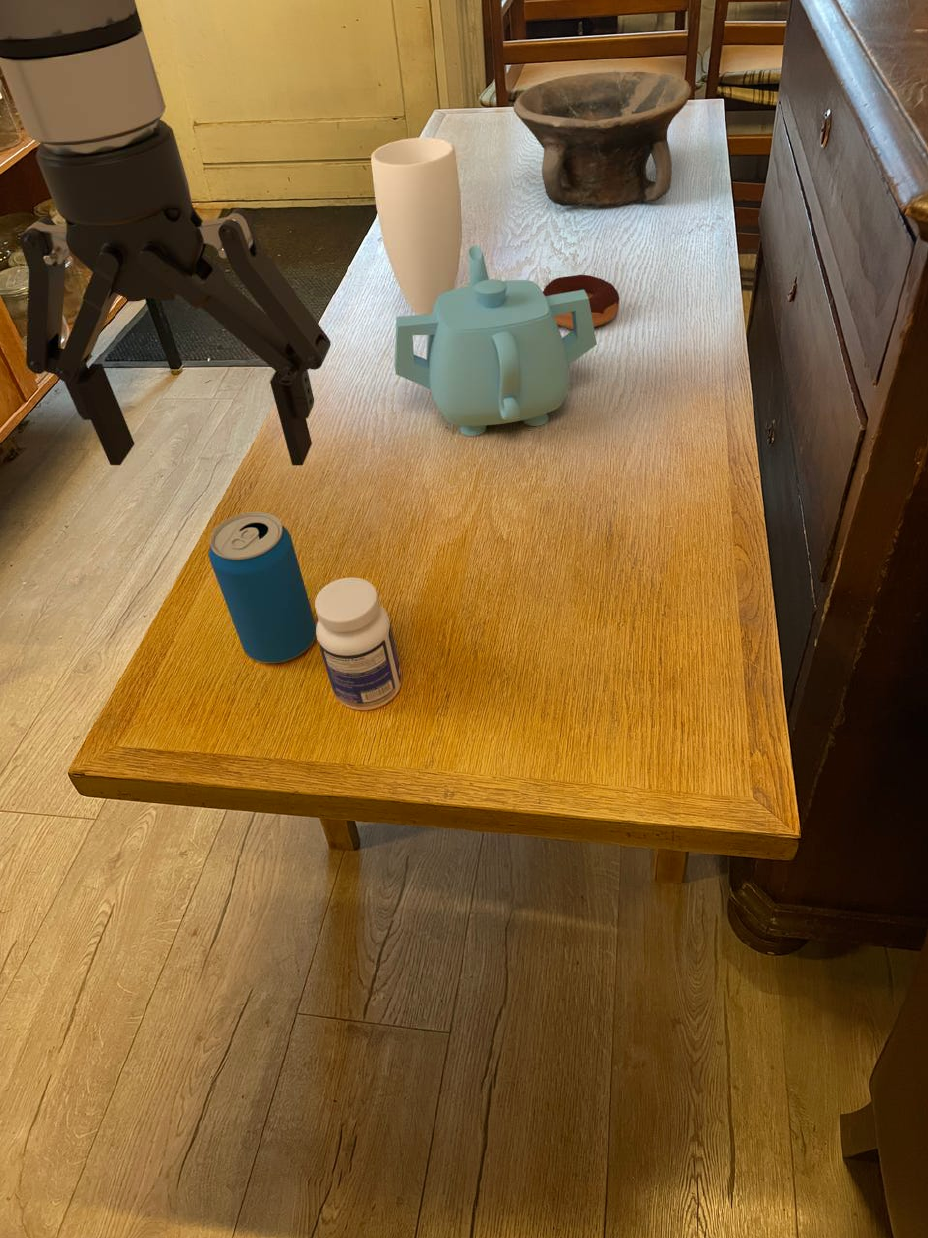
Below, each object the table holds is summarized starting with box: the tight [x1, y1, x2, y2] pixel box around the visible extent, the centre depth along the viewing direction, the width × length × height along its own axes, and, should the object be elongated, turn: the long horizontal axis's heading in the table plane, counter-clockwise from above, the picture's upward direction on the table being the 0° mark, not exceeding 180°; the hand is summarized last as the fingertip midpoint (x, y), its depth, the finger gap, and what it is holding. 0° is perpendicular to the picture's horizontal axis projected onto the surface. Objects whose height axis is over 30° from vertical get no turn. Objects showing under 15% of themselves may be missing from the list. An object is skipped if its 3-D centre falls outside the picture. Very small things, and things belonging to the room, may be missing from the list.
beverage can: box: [208, 511, 317, 664], centre depth 73 cm, size 6×6×12 cm
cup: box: [370, 137, 463, 315], centre depth 108 cm, size 10×10×22 cm
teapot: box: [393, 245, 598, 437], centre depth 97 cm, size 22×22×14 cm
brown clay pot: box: [512, 70, 692, 207], centre depth 139 cm, size 27×26×15 cm
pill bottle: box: [314, 576, 403, 711], centre depth 69 cm, size 6×6×10 cm
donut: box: [542, 274, 620, 330], centre depth 113 cm, size 10×10×4 cm
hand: (211, 454), depth 64 cm, fingers open, 13 cm apart
